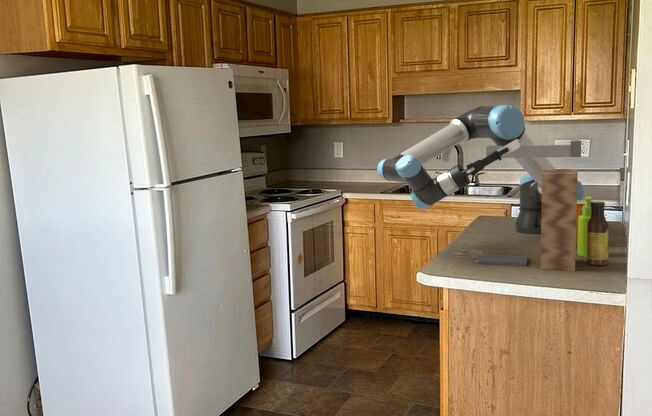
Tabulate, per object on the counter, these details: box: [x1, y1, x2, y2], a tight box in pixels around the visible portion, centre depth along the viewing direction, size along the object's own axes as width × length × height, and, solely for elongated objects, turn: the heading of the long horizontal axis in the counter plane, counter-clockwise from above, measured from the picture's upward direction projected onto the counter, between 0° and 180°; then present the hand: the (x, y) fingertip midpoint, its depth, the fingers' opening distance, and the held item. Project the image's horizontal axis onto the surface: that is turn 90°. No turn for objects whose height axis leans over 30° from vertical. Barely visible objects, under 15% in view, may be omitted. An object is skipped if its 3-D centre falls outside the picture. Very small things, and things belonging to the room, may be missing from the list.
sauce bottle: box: [586, 200, 610, 266], centre depth 191 cm, size 6×6×20 cm
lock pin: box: [485, 139, 582, 159], centre depth 190 cm, size 28×5×5 cm, turn 68°
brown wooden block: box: [539, 168, 579, 272], centre depth 192 cm, size 10×14×30 cm
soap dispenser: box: [576, 195, 593, 258], centre depth 202 cm, size 6×7×20 cm
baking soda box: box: [576, 199, 594, 248], centre depth 218 cm, size 10×6×16 cm
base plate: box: [477, 253, 529, 267], centre depth 200 cm, size 15×9×1 cm, turn 67°
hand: (518, 142), depth 192 cm, fingers closed on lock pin, 4 cm apart
